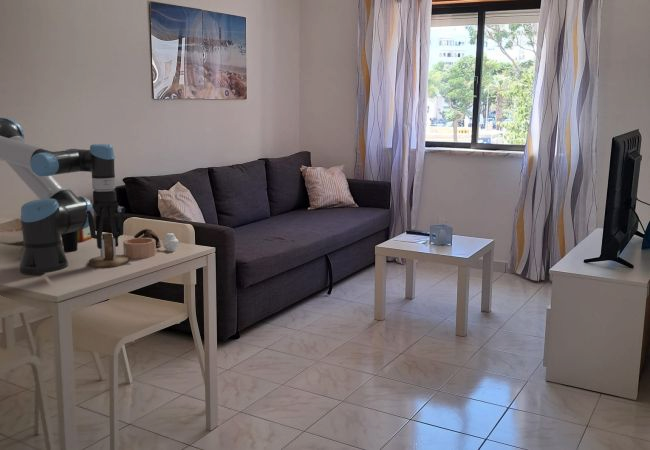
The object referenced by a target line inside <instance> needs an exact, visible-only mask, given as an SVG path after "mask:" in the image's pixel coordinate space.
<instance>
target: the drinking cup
mask: <svg viewBox="0 0 650 450" xmlns="http://www.w3.org/2000/svg"><path fill="white" fill-rule="evenodd" d="M60 238H61V244H62V249H63V251H64V252H67V253H68V252H75V251H78V242H77V241H78V231H74V232H70V233H66V234H62V235H60Z"/></svg>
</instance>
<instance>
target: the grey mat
mask: <svg viewBox="0 0 650 450" xmlns="http://www.w3.org/2000/svg"><path fill="white" fill-rule="evenodd" d="M87 264H89V260H88V261H87ZM129 265H131V262H129V261H128V263H126V264H124V265H121V266H120V267H123V266H129ZM106 268H107V269H108V268H109V267H93V269H95V270H98V269H106Z"/></svg>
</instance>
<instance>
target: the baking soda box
mask: <svg viewBox="0 0 650 450" xmlns="http://www.w3.org/2000/svg"><path fill="white" fill-rule="evenodd" d="M88 200H89V199H88ZM89 201H90V202H91V204H92V205H93V203H92V202H93V201H92V200H91V199H90V200H89ZM92 239H93V238H92V237H91V234H90V228H89V226H88V227H87V228H85V229H82V230H80V231H78V241H77V243H84V242H86V241H89V240H92Z"/></svg>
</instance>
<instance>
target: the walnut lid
mask: <svg viewBox="0 0 650 450" xmlns="http://www.w3.org/2000/svg"><path fill="white" fill-rule="evenodd" d="M112 237H113V234H112V232H110V233H109V232H108V233H107V232H105V233H102V239H104V249H105V258H102V257H101V255H100V256H95V257H92V258H90V259H89V260H88V261H89V263H88V265H89V266H90V267H93V268H94V267H108V268H114V267H122V266H121V265H123V266H125V265H124V264H126V263H128V262H129V258H128V257H126V256H124V255H120V254H116V257H113V244H112Z"/></svg>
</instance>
